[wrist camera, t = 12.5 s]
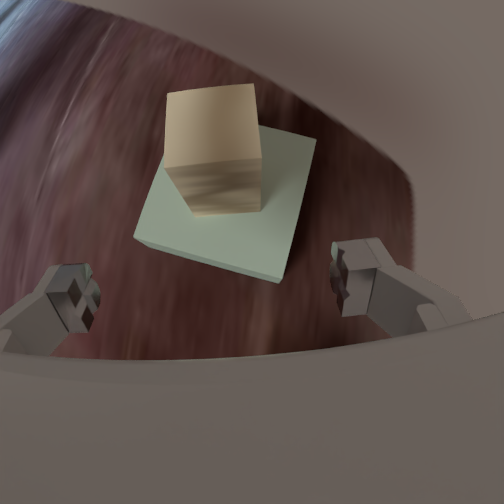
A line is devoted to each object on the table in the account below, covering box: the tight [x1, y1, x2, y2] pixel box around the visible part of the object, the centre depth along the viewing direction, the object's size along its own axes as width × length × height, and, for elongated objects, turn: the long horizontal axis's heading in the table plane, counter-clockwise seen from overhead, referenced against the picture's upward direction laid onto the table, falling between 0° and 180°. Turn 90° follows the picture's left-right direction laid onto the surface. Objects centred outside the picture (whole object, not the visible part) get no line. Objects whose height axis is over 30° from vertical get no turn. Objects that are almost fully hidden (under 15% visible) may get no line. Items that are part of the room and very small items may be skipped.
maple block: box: [164, 84, 262, 217], centre depth 21 cm, size 5×5×9 cm
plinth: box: [133, 125, 316, 284], centre depth 27 cm, size 12×12×4 cm
